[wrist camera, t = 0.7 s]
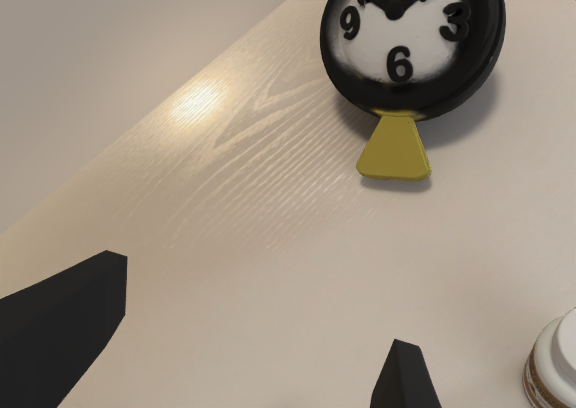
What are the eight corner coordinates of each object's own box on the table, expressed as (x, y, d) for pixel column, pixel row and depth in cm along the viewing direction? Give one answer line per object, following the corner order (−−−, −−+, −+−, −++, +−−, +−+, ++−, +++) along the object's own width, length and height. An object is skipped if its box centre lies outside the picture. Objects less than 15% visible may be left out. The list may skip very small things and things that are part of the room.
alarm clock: (324, 156, 43) (250, -14, 36) (466, 78, 44) (421, -102, 37) (386, 211, 33) (299, -12, 26) (568, 108, 34) (534, -134, 27)
